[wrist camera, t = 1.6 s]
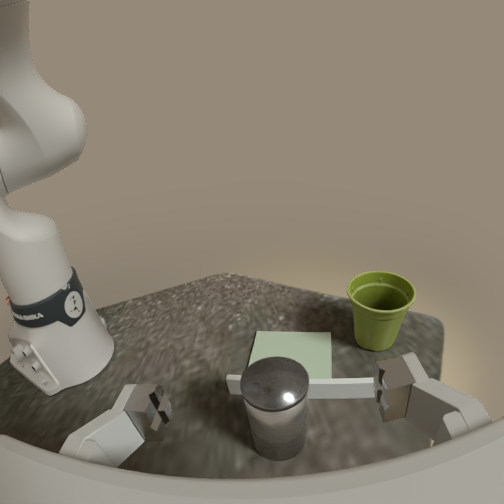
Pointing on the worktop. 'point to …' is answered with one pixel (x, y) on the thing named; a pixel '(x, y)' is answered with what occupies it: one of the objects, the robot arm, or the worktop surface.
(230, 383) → the wall
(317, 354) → the pad
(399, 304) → the plant pot
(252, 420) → the canister
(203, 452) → the worktop surface
